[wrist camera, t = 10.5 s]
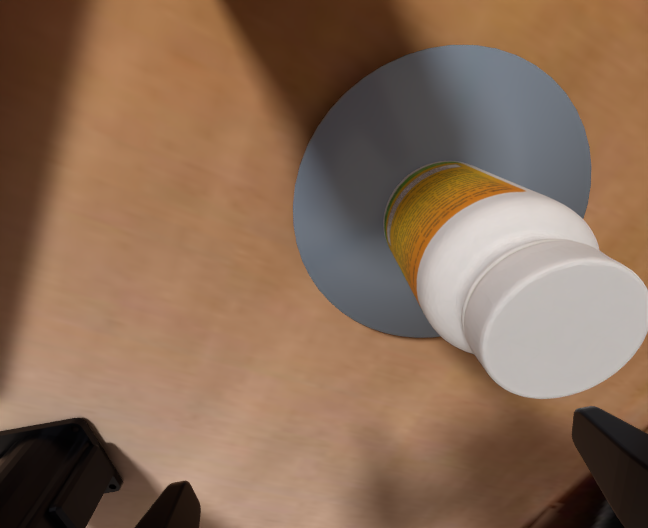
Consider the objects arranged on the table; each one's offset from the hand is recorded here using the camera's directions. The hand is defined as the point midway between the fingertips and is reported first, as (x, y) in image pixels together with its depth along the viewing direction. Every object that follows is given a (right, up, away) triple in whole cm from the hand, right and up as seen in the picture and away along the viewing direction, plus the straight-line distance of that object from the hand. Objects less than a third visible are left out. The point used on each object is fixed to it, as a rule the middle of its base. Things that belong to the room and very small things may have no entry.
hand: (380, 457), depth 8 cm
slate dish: (+4, +7, +10) cm, 13 cm away
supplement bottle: (+4, +7, +9) cm, 12 cm away
